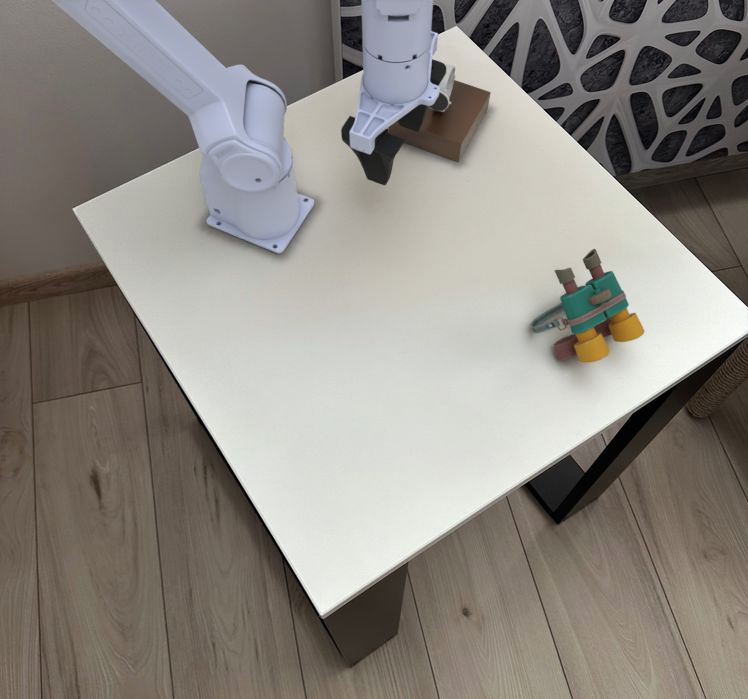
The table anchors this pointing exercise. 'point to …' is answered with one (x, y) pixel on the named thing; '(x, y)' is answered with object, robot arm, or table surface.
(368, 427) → the table surface
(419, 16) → the robot arm
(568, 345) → the binoculars
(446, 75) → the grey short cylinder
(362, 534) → the table surface
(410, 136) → the brown square tile
